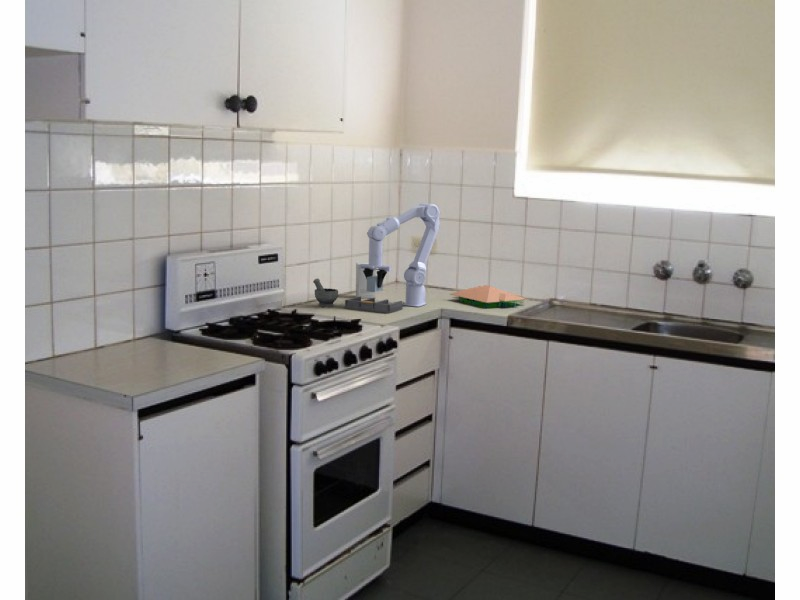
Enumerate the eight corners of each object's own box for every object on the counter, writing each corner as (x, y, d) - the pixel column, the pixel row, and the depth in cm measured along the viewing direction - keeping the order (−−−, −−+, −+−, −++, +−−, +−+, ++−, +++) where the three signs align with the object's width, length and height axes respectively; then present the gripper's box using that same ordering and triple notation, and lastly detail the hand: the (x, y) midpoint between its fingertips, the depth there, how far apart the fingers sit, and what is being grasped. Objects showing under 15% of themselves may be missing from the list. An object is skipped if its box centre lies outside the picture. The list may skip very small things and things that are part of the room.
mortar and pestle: (329, 303, 361) (330, 275, 359) (342, 307, 353) (342, 278, 352) (307, 305, 354) (307, 277, 352) (319, 309, 347) (319, 280, 345)
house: (490, 311, 358) (491, 292, 357) (442, 299, 385) (443, 282, 384) (530, 307, 371) (531, 289, 370) (481, 296, 398) (482, 279, 397)
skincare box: (372, 296, 386) (373, 262, 383) (376, 298, 379) (377, 264, 377) (354, 296, 383) (355, 262, 381) (358, 298, 377) (358, 264, 375)
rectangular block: (374, 289, 360) (375, 275, 359) (382, 290, 358) (383, 276, 357) (366, 291, 354) (366, 277, 353) (374, 292, 352) (375, 277, 351)
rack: (358, 304, 361) (358, 295, 361) (402, 309, 352) (402, 300, 352) (344, 308, 351) (344, 298, 350) (389, 313, 342) (389, 304, 341)
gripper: (355, 254, 353) (354, 286, 355) (386, 256, 346) (385, 289, 349) (364, 252, 359) (363, 284, 361) (394, 255, 353) (393, 287, 355)
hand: (374, 286), depth 355 cm, fingers closed on rectangular block, 4 cm apart
